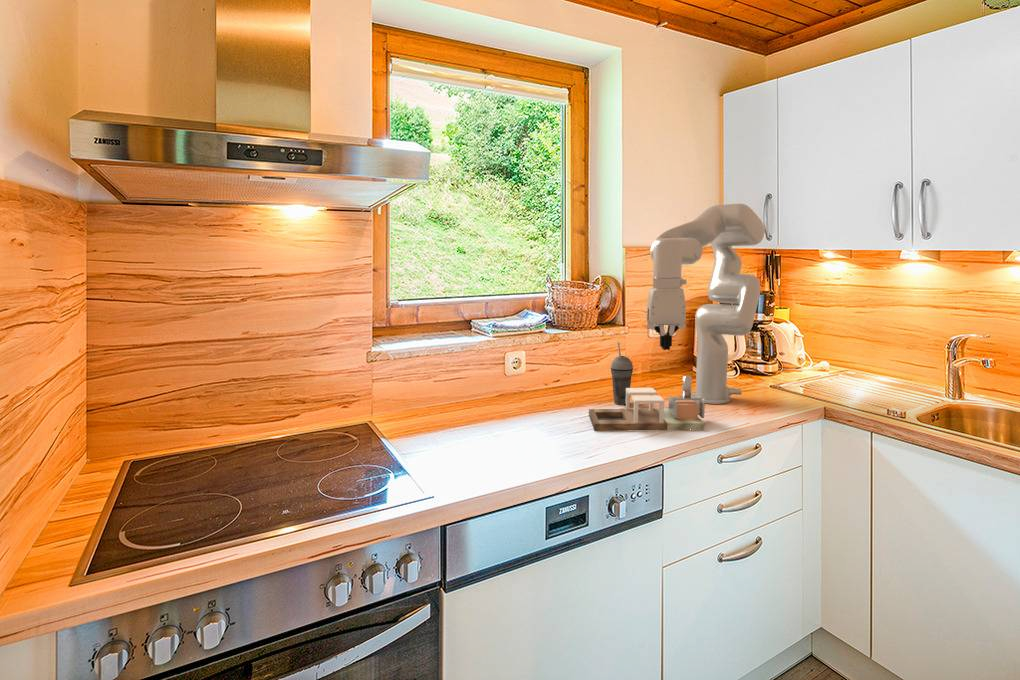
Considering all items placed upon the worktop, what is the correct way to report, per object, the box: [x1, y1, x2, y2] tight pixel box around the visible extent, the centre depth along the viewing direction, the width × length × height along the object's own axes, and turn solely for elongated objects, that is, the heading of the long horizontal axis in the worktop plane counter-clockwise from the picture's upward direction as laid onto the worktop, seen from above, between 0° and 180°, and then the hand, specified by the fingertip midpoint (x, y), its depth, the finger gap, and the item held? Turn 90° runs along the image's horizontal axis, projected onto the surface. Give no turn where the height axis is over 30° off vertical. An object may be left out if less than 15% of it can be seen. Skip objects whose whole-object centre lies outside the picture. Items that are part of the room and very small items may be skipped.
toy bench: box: [625, 387, 665, 423], centre depth 160 cm, size 8×14×6 cm, turn 178°
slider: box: [668, 375, 706, 419], centre depth 159 cm, size 8×7×11 cm
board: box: [588, 408, 705, 432], centre depth 160 cm, size 30×14×2 cm, turn 88°
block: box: [675, 400, 699, 419], centre depth 160 cm, size 6×6×4 cm
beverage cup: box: [610, 341, 634, 406], centre depth 180 cm, size 7×7×20 cm
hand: (665, 348), depth 157 cm, fingers closed
